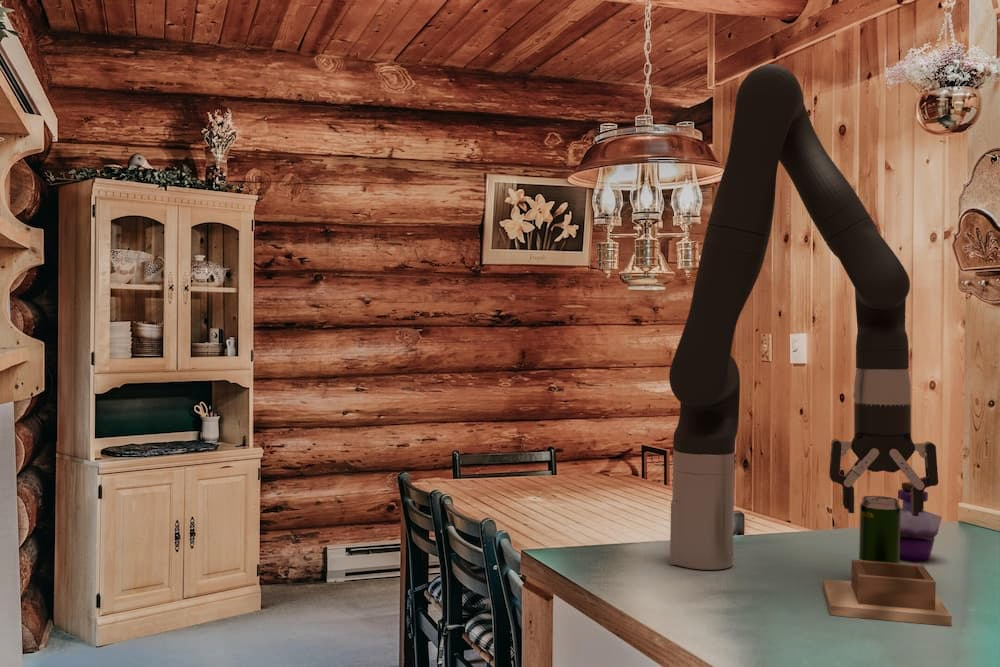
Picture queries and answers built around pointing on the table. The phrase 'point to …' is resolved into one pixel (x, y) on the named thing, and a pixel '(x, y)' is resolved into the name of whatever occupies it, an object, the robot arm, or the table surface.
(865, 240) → the robot arm
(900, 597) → the can caddy
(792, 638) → the table surface
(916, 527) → the potion bottle
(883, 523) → the beer can
